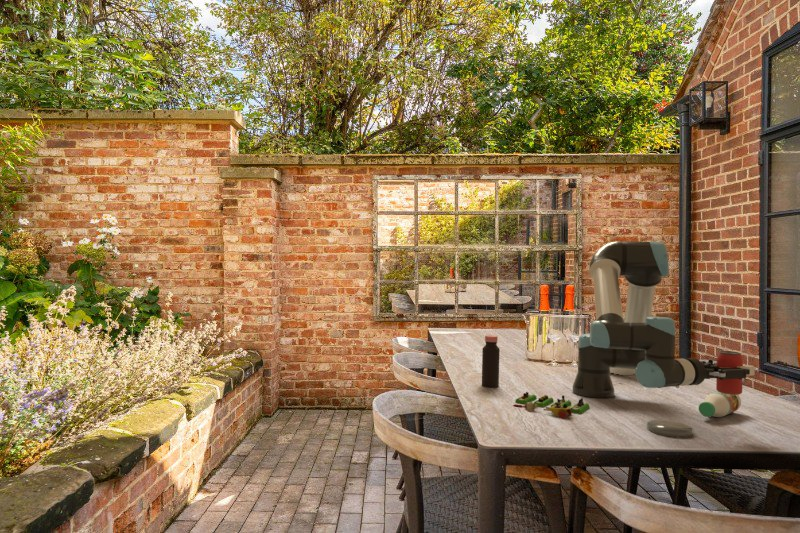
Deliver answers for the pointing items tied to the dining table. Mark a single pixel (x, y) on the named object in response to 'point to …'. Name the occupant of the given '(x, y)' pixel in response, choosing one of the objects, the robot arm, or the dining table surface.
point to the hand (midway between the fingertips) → (741, 368)
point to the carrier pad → (669, 428)
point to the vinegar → (490, 362)
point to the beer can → (729, 361)
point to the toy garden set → (558, 408)
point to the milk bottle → (719, 404)
